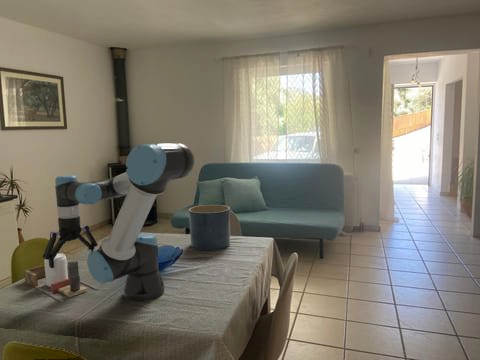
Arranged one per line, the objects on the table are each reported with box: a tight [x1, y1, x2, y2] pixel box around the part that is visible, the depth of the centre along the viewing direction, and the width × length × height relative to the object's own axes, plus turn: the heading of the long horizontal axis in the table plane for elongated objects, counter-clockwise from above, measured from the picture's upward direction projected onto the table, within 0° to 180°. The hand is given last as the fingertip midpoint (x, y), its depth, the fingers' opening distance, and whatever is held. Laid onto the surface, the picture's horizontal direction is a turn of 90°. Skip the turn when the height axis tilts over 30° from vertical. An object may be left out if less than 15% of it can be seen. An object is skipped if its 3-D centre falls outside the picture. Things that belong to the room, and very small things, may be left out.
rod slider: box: [50, 260, 88, 298], centre depth 143 cm, size 10×11×12 cm
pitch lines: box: [34, 276, 99, 303], centre depth 147 cm, size 23×14×1 cm, turn 51°
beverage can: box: [43, 252, 69, 288], centre depth 151 cm, size 8×8×12 cm
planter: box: [188, 204, 231, 252], centre depth 199 cm, size 22×22×20 cm
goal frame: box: [23, 263, 69, 288], centre depth 157 cm, size 10×14×5 cm
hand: (73, 270), depth 141 cm, fingers open, 13 cm apart
